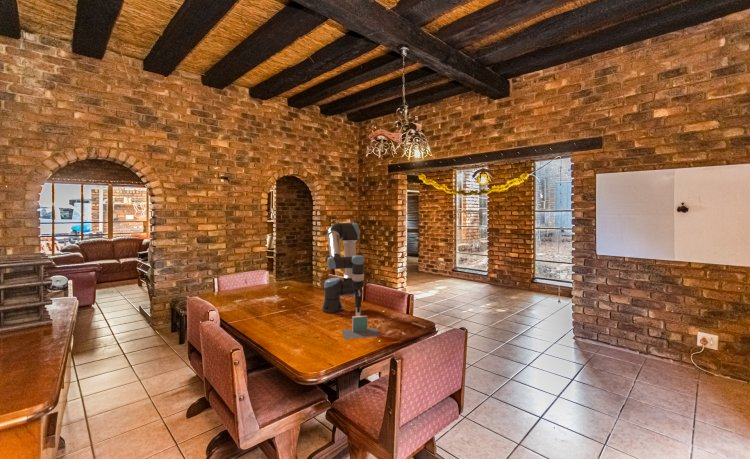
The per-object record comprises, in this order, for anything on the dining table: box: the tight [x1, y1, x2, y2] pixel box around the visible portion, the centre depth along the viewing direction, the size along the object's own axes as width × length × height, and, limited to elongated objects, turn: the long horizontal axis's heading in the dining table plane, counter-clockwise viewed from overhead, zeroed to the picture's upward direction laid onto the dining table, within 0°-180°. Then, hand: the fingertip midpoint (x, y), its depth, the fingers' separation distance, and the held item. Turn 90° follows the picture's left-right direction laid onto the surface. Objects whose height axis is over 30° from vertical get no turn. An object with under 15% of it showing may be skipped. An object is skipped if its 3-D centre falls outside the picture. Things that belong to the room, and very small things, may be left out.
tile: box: [351, 315, 368, 332], centre depth 206 cm, size 2×9×9 cm, turn 102°
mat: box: [341, 327, 382, 340], centre depth 202 cm, size 14×22×1 cm, turn 102°
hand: (358, 316), depth 213 cm, fingers closed
